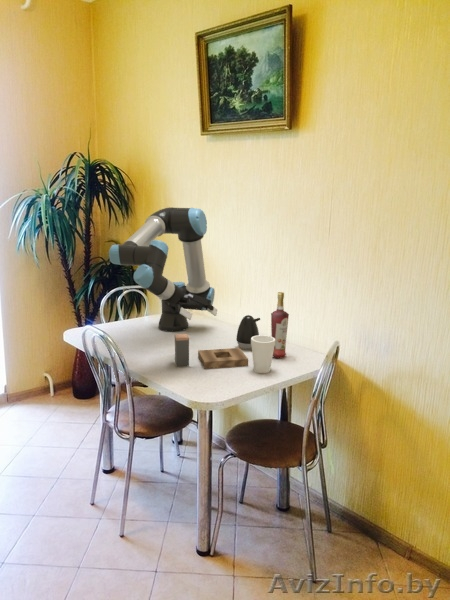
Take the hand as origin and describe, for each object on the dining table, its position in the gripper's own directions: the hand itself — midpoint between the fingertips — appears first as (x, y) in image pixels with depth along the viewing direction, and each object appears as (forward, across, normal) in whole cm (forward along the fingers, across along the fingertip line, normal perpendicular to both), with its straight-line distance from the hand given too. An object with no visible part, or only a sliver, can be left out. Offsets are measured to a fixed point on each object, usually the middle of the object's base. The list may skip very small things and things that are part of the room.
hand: (203, 314), depth 197 cm
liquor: (+33, +17, -7) cm, 38 cm away
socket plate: (+15, +2, -15) cm, 21 cm away
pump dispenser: (+32, +1, -2) cm, 32 cm away
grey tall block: (+2, -9, -20) cm, 22 cm away
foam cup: (+19, +19, -18) cm, 33 cm away
